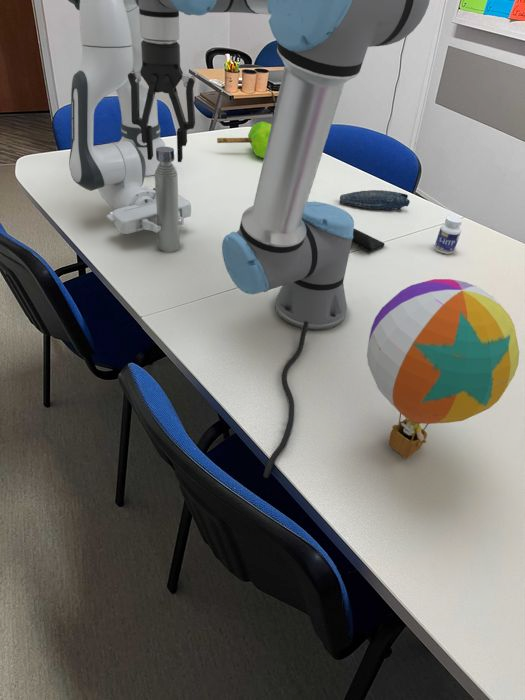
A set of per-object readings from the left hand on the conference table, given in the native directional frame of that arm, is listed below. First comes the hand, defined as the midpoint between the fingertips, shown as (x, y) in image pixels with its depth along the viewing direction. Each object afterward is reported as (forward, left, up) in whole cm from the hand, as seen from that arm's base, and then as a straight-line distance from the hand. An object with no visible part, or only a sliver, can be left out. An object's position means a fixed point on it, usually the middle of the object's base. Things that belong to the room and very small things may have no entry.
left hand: (170, 225), depth 126 cm
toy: (+72, +26, -6) cm, 77 cm away
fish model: (-18, +65, -6) cm, 67 cm away
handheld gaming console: (+5, +49, -6) cm, 50 cm away
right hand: (-1, 0, +16) cm, 16 cm away
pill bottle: (+12, +72, -6) cm, 73 cm away
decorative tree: (-66, +42, -6) cm, 79 cm away
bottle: (-1, 0, -6) cm, 6 cm away
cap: (-1, 0, +18) cm, 18 cm away
